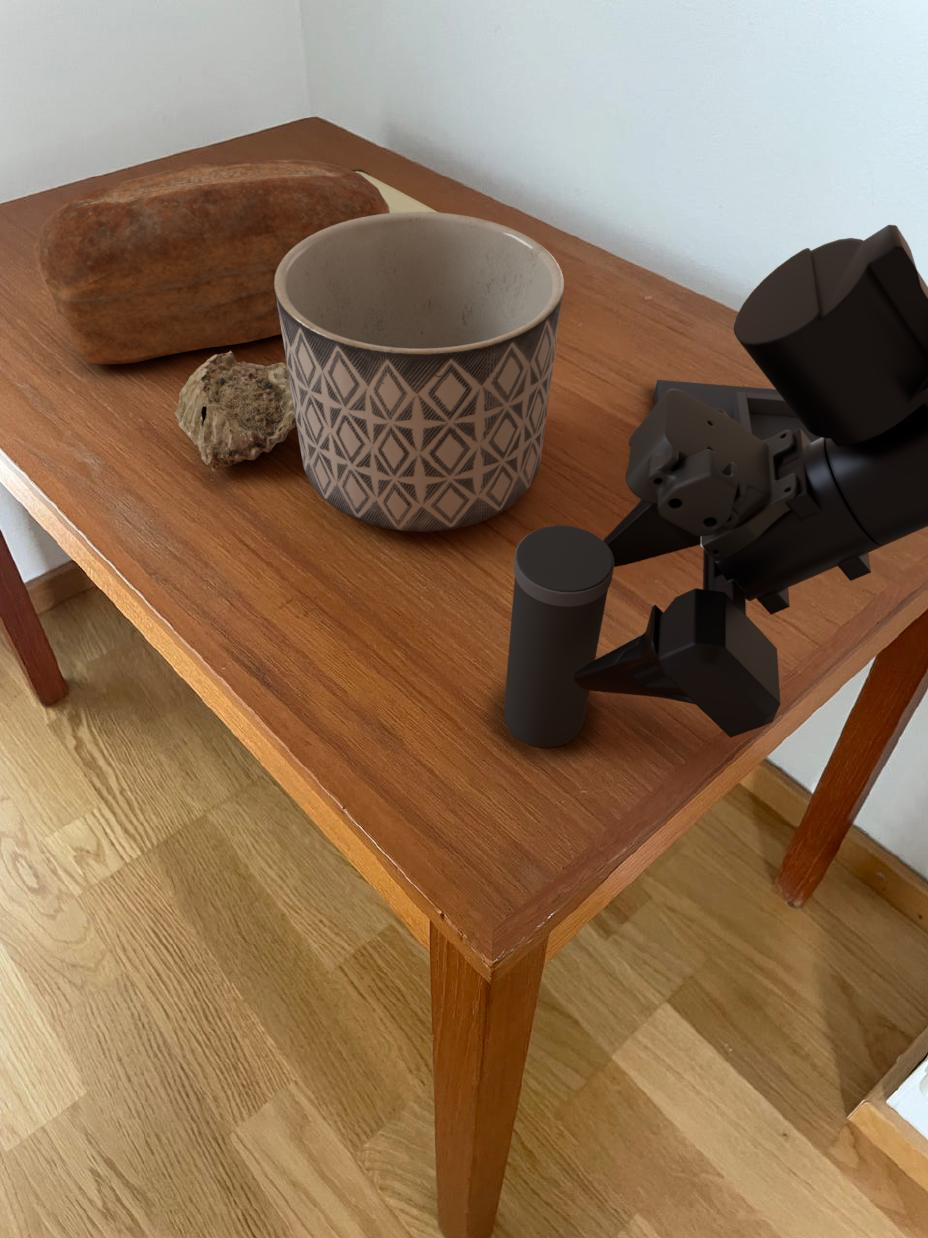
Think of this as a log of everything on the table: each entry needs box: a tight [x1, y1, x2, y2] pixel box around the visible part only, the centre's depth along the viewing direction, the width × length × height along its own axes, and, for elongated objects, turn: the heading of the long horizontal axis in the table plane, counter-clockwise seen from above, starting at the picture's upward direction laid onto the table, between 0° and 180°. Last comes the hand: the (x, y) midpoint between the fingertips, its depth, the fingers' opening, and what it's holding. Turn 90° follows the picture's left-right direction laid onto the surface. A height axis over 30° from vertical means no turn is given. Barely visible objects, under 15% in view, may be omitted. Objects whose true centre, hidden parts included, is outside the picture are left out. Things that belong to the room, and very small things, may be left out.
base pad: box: [654, 379, 821, 443], centre depth 78 cm, size 15×15×3 cm
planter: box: [274, 211, 565, 533], centre depth 70 cm, size 19×19×16 cm
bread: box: [33, 158, 390, 366], centre depth 86 cm, size 12×31×14 cm, turn 112°
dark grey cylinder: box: [503, 524, 615, 749], centre depth 55 cm, size 5×5×14 cm
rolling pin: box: [348, 167, 438, 213], centre depth 99 cm, size 32×6×5 cm, turn 39°
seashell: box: [173, 350, 297, 473], centre depth 77 cm, size 11×7×10 cm
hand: (586, 619), depth 53 cm, fingers open, 9 cm apart
